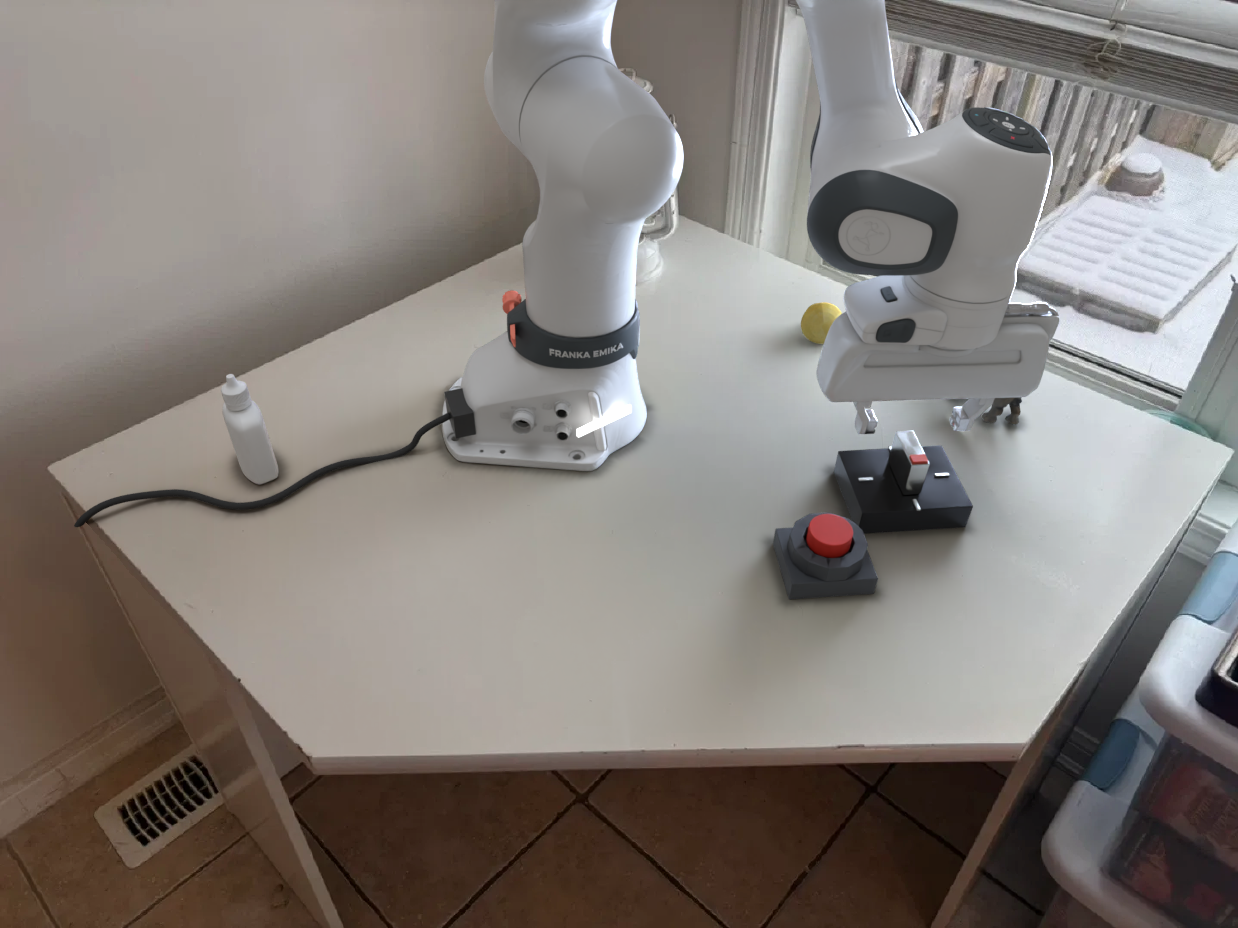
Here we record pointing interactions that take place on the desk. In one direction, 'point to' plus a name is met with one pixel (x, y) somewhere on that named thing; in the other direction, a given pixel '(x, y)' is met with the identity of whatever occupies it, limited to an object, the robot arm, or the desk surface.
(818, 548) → the button
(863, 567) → the igniter
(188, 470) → the desk surface
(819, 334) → the knob
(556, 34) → the robot arm
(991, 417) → the rhino figurine
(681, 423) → the desk surface
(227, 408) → the eye dropper bottle
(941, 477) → the hob panel
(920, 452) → the knob
